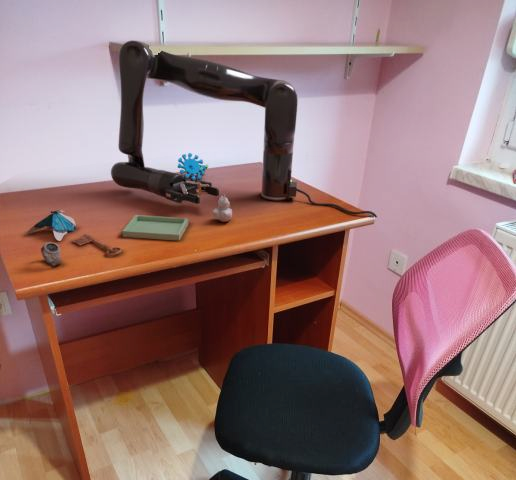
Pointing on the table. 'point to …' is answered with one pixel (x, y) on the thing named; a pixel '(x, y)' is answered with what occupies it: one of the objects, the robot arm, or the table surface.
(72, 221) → the decorative butterfly
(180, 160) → the blue virus model
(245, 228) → the table surface
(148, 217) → the tray
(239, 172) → the table surface
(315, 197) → the table surface
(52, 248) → the grey round container
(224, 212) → the white plastic figurine
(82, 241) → the key
